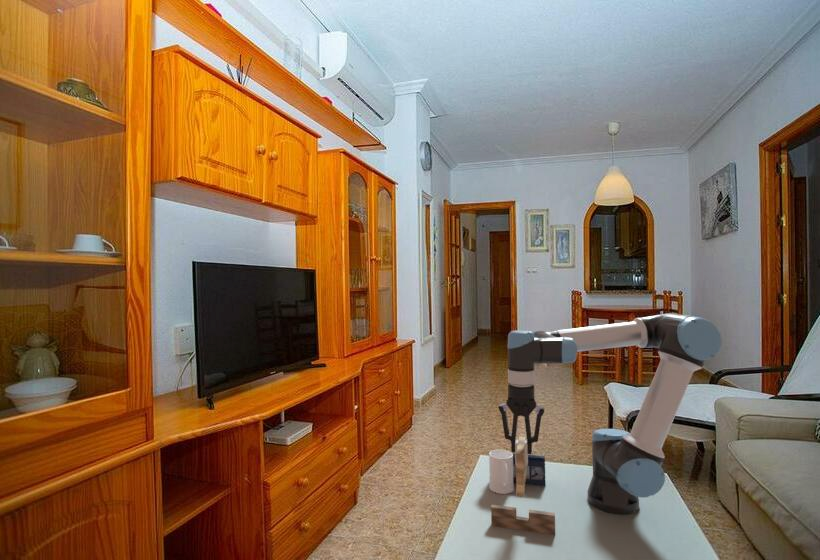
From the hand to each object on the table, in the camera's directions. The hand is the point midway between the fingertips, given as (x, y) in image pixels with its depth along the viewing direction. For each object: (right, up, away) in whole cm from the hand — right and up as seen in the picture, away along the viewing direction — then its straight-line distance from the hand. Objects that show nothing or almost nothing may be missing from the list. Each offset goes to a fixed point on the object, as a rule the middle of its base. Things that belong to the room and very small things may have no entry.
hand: (521, 463), depth 129 cm
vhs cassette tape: (+6, -19, +28) cm, 35 cm away
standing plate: (0, -19, 0) cm, 19 cm away
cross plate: (0, -6, 0) cm, 6 cm away
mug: (-1, -19, +23) cm, 30 cm away
